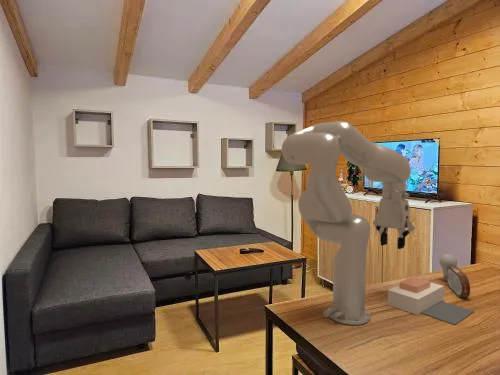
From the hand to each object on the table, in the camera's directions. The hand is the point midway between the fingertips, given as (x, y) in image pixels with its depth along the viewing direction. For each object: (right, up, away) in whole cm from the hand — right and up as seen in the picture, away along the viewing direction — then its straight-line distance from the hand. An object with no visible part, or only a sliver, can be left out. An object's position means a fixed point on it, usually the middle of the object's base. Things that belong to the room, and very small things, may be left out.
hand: (392, 246), depth 122 cm
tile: (+5, -13, -6) cm, 15 cm away
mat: (+12, -19, -13) cm, 26 cm away
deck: (+6, -18, -6) cm, 20 cm away
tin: (+24, -18, +3) cm, 30 cm away
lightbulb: (+27, -16, +14) cm, 35 cm away
